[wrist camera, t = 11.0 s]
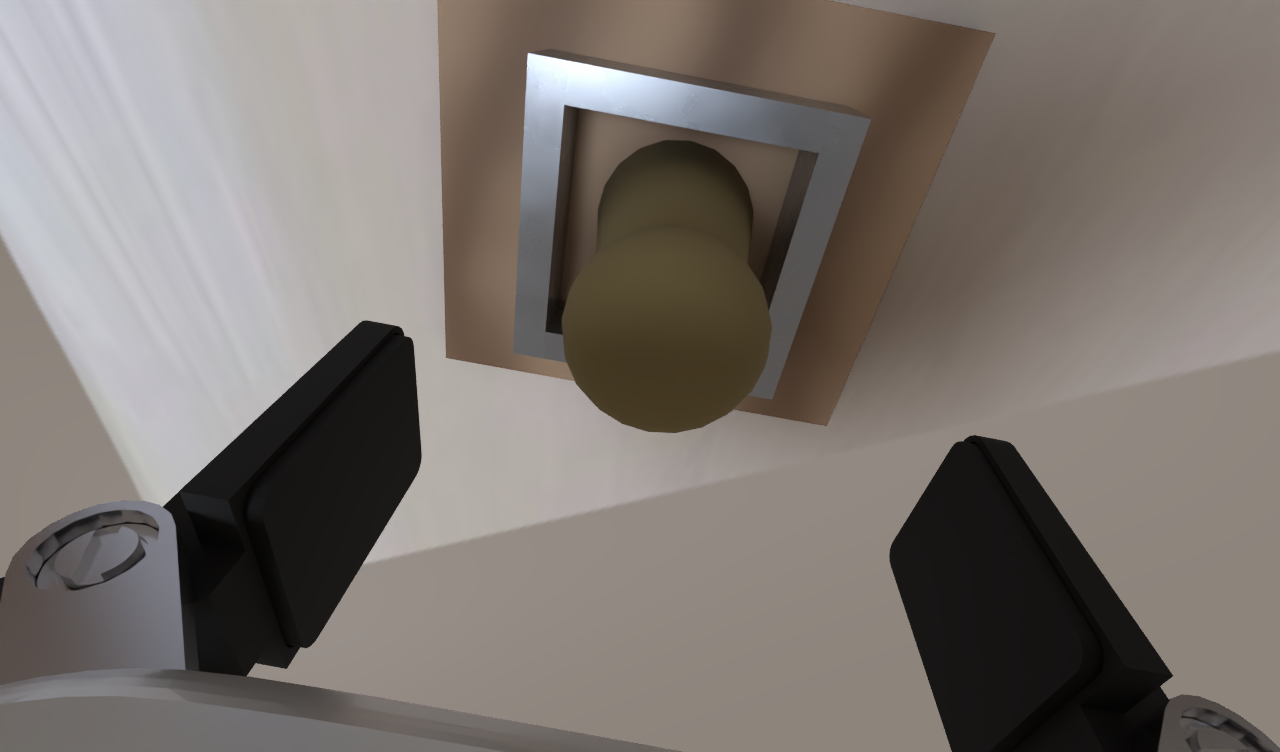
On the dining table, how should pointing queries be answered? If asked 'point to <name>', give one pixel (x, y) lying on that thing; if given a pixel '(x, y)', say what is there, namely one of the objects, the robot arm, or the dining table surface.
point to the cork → (669, 293)
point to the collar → (691, 103)
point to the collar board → (722, 51)
